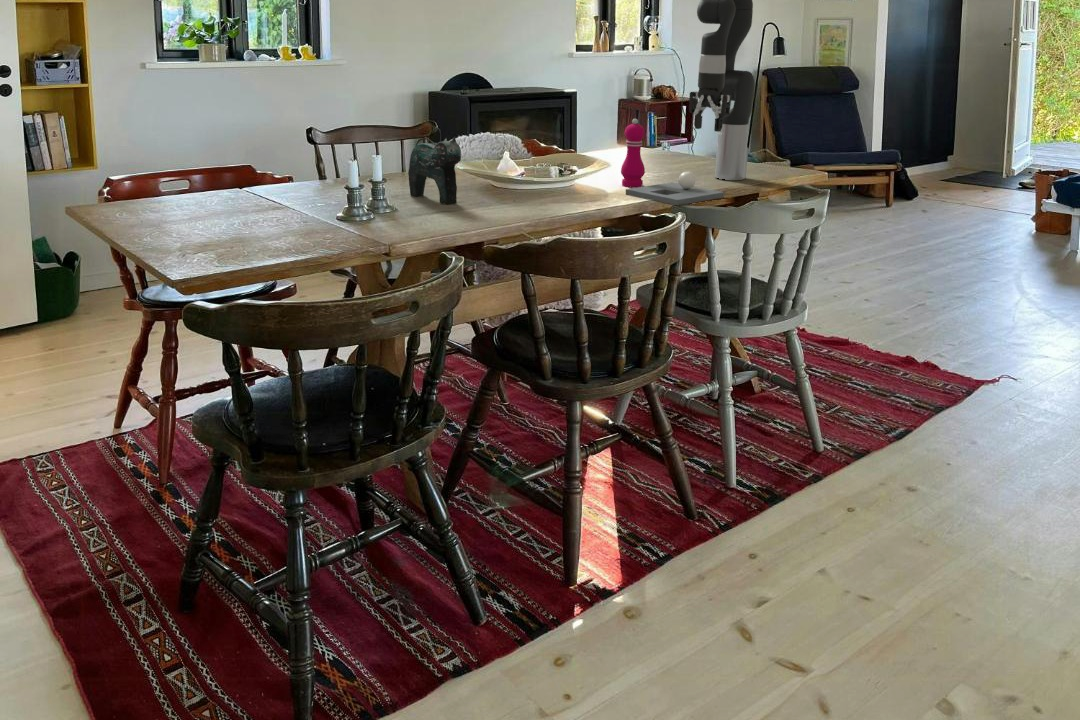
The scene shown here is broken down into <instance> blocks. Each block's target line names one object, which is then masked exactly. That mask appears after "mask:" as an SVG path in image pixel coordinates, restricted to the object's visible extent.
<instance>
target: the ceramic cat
mask: <svg viewBox="0 0 1080 720" xmlns="http://www.w3.org/2000/svg"><path fill="white" fill-rule="evenodd" d="M436 130H437V131H438V132H439V137H440V138H439V142H434V141H432V140H431V139H430V138H428V137H422V138H420V139H418V140H417V142H416V143H415V145H414V147H413V149H412V150H411V153H410V157H409V163H408V164H409V165H408V166H409V167H408V171H407V173H408V184H409V185H408V186H409V193H410V196H412V197H415V198H418V197H423V196H424V193H425V188H426V181H427V178H428V179H432V180H433V181H434V182H435V185H436V186H437V189H438V194H439V195H438V196H439V203H440V205H441V204H442V205H446V206H448V205H449V206H450V205H456V204H457V202H458V201H457V199H458V197H457V190H458V186H457V173H456V170H455V165H456V164H459V163H460V162H461V158H462V151H461V147H460V145H459V144H458V143H457V138H456V137H455V136H454V137H453V138H452V139H451V140H447V138H445V139H444V140H443V141H442V133H441V129H440V128H439V127H435V128H434V130H433V131H432V132H433V133H435V131H436ZM425 140H427V141H429V142H425V143H424V142H423V143H420V142H421V141H425Z"/></svg>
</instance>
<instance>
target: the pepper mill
mask: <svg viewBox="0 0 1080 720" xmlns="http://www.w3.org/2000/svg"><path fill="white" fill-rule="evenodd" d="M645 134H646V132H645V129H644V126H642V125H641V124H639V120H638V119H637V118H633V119H632V121H631V124H629V125H627V126H626V127H625V130H624V137H625V138H626V140H625V146H626V148H627V149H626V155H625V159H624V160H623V163H622V165H621V167H620V168H621V169H620V174H621V175H622V177H623V178H622V180H621V185H622V186H623V187H625V188H638V187H644V186H643V184H644V182H643V179H642V177H644V176H645V174H646V171H645V169H646V168H645V164H644V162H643V159H642V155H641V147H642V146H643V142H644V141H643V138H644V137H645Z"/></svg>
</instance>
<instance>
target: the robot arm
mask: <svg viewBox="0 0 1080 720" xmlns="http://www.w3.org/2000/svg"><path fill="white" fill-rule="evenodd" d="M753 8H754V3H753V0H700V1H699V2H698V5H697V9H696V16H697V19H698V20H699V21H700V22H701V23H702V24H707V25H708V24H709V25H711V24H712V25H719V27H718V29H716V30H715V31H713V32H706V33H703V35H702V37H701V48H700V49H701V50H700V58H699V63H698V78H697V87H698V91H689V102H688V103H689V107H688V111H689V114H693V115H694V120H693V121H694V123H693V127H694V129H697V130H700V129H702V127H703V126H702V125H703V114H704V111H705V110H706V109H707V108H709V109H711V110H712V112H713V113H714V116H715V118H714V129H713V130H714V132H717V140H716V141H717V145H716V156H715V171H714V178H715V177H716V178H715V179H717V178H719V179H718V180H722V179H725V180H724V181H742V180H745V179H746V178H747V171H748V169H747V168H748V155H749V147H748V145H747V144H748V137H749V136H748V135H749V134H748V133H749V122H750V121H749V120H750V117H751V114H752V109H753V101H754V93H755V78H754V75H753V73H752V72H751V71H749V70H739V69H738V70H737V69H735V62H736V56H737V53H738V51H739V48H740V47H741V45H742V44H743V42H744V41H745V39H746V37H747V35H748V34H749V33H750V30H751V27H752V24H753V15H754V14H753V13H754V11H753V10H754V9H753ZM732 101H733V106H732V108H731V105H732Z"/></svg>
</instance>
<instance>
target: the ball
mask: <svg viewBox="0 0 1080 720" xmlns="http://www.w3.org/2000/svg"><path fill="white" fill-rule="evenodd" d="M696 180H697V179H696V176H695V175H694V173H692V172H691V171H684V172H681V173H680V174H679V176H678V182H677V183H679V185H680V186H681V187H682V188H684V189H690V188H692V187H693V186H694V185H696ZM694 187H695V186H694Z"/></svg>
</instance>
